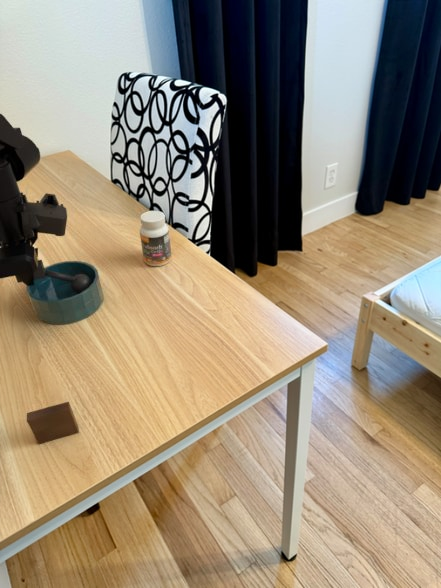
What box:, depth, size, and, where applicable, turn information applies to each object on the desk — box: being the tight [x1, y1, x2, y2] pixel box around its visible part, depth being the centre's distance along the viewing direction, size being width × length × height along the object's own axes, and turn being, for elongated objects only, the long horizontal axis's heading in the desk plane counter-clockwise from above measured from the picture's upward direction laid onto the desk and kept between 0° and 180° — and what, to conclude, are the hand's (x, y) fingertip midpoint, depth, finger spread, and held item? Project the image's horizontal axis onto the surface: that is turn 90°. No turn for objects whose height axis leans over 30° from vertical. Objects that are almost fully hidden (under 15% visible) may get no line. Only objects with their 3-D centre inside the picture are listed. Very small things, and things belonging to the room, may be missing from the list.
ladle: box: [14, 259, 92, 294], centre depth 74 cm, size 12×4×8 cm, turn 109°
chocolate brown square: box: [26, 401, 80, 445], centre depth 54 cm, size 5×1×5 cm, turn 109°
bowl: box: [25, 260, 104, 325], centre depth 76 cm, size 12×12×5 cm
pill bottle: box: [139, 210, 172, 267], centre depth 85 cm, size 6×6×10 cm
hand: (31, 281), depth 72 cm, fingers closed on ladle, 2 cm apart
